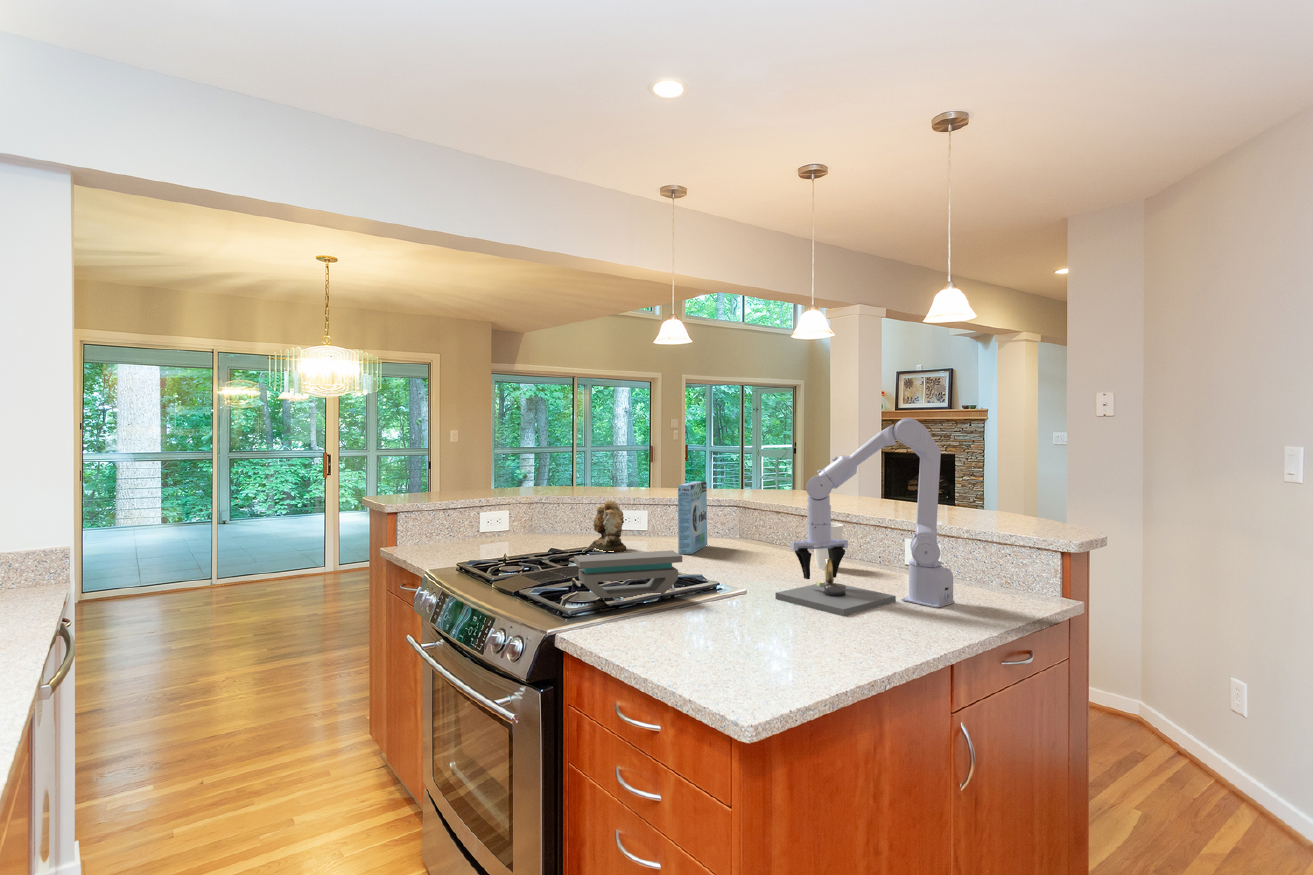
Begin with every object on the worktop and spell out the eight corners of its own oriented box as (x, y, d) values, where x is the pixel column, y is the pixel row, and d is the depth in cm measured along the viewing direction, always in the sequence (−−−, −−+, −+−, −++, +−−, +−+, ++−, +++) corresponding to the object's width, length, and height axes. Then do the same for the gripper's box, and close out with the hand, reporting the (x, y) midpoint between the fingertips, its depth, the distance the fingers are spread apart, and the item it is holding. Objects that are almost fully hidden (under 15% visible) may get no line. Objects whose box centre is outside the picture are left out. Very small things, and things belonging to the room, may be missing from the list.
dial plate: (895, 601, 166) (895, 592, 166) (843, 615, 154) (843, 605, 153) (827, 587, 182) (827, 578, 182) (775, 598, 169) (775, 589, 169)
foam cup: (807, 569, 205) (807, 525, 204) (815, 564, 213) (815, 521, 213) (839, 572, 200) (839, 527, 200) (846, 566, 208) (846, 523, 208)
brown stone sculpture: (582, 546, 246) (582, 498, 246) (612, 544, 252) (612, 497, 252) (601, 554, 230) (601, 502, 230) (633, 551, 236) (634, 501, 236)
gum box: (691, 554, 229) (691, 485, 229) (677, 554, 231) (676, 485, 230) (707, 545, 247) (707, 481, 247) (694, 544, 249) (694, 481, 249)
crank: (847, 596, 165) (847, 566, 165) (826, 596, 165) (826, 566, 165) (838, 586, 175) (838, 558, 175) (818, 586, 176) (818, 558, 176)
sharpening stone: (672, 593, 175) (672, 550, 175) (682, 600, 168) (682, 555, 168) (574, 600, 168) (573, 555, 168) (579, 608, 161) (579, 561, 161)
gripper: (798, 526, 169) (799, 582, 169) (853, 524, 172) (854, 579, 172) (787, 523, 176) (787, 576, 176) (840, 520, 178) (840, 573, 179)
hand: (819, 577), depth 174 cm, fingers open, 6 cm apart
